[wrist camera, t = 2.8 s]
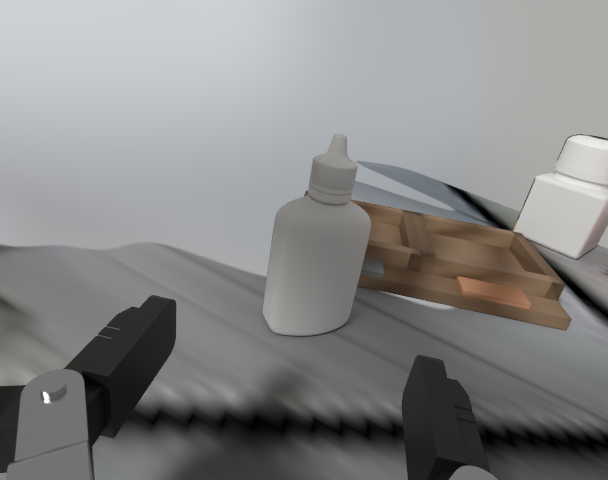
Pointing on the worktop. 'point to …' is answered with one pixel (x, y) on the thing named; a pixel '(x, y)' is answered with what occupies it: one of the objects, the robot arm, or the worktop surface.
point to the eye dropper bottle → (317, 250)
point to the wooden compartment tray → (460, 266)
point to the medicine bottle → (569, 199)
